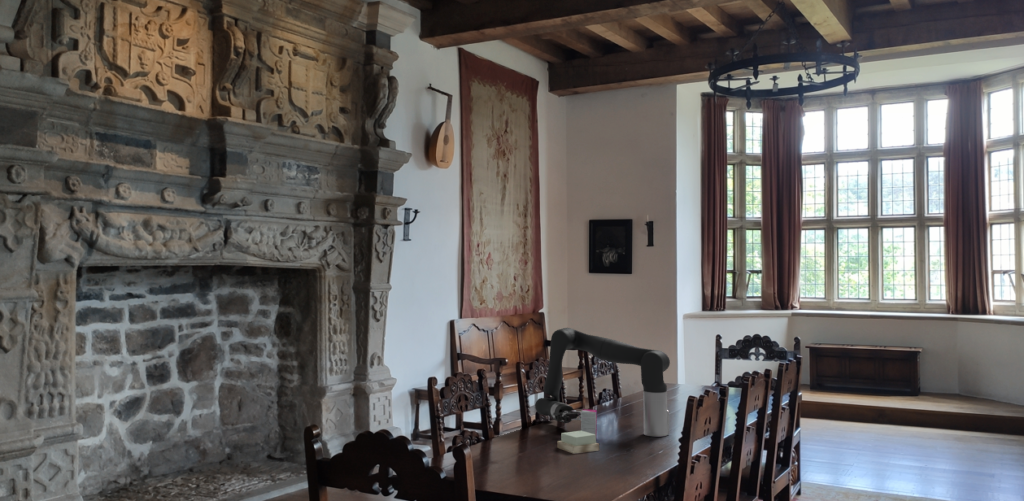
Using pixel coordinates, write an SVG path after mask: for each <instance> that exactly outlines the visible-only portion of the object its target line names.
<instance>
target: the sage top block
mask: <svg viewBox="0 0 1024 501" xmlns="http://www.w3.org/2000/svg"><path fill="white" fill-rule="evenodd" d="M560 436H561V437H560V438H561V440H560V441H562V442H565V443H568V444H572V445H575V446H579V445H586V444H593V443H597V439H596V435H595V434H592V433H588V432H584V431H581V430H575V431H569V432H568V431H567V432H561V435H560Z"/></svg>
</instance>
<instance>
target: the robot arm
mask: <svg viewBox="0 0 1024 501" xmlns="http://www.w3.org/2000/svg"><path fill="white" fill-rule="evenodd" d="M549 346H550V348H549V359H548V366H547V367H548V368H547V372H546V373H547V374H546V376H545V381H544V384H543V392H544V394H546V395H548V396H551V398H548V397H540V398H538V399H537V400H536V401H535V404H534V408H535V411H536V412H537V414H539V415H541V416H545V417H546V416H547V417H551V418H552V420H553V421H557V422H561V423H563V424H569V423H571V422H572V421H581V411H580V410H575V409H574V407H573V406H572V405H569V404H567V403H564V402H560V392H561V388H562V387H561V386H562V384H563V382H562V381H563V379H564V378H563V377H564V376H563V374H564V373H563V358H564V356H565V353H566V352H567V350H570V349H571V350H574V349H575V350H579V351H585V352H587V353H589V354H591V355H592V356H594V357H595V358H597V359H598V360H600V361H601V360H602V361H605V362H609V363H613V364H614V363H615V364H620V365H621V364H625V365H635V366H638V367H640V375H641V376H640V378H641V384H642V388H643V390H642V391H643V394H642V395H643V398H642V399H643V435H645V436H647V437H659V438H660V437H666V436H668V435H670V411H669V410H668V386H667V383H665V381H664V372H666V371H667V369H669V367H670V364H671V363H670V357H669V356H668V355H667V353H665V352H664V351H663V350H658V349H650V348H644V347H643V348H642V347H638V346H635V345H633V344H632V345H631V344H629V343H627V342H623V341H620V340H616V339H612V338H607V337H604V336H599V335H591V334H587V333H584V332H582V331H579V330H577V329H575V328H571V327H563V328H559V329H557V330H555V331H554V332H552V335H551V338H550V345H549Z"/></svg>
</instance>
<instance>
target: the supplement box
mask: <svg viewBox="0 0 1024 501" xmlns="http://www.w3.org/2000/svg"><path fill="white" fill-rule="evenodd" d="M580 412H581V420H580V431H584V432H588V433H592V434H595V435H596V440H597V439H598V438H597V435H598V434H597V433H598V432H597V431H598V428H597V427H598V422H597V421H598V410H597V409H586V408H582V410H581V411H580Z"/></svg>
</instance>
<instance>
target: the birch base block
mask: <svg viewBox="0 0 1024 501" xmlns="http://www.w3.org/2000/svg"><path fill="white" fill-rule="evenodd" d="M556 447H557V449H558V450H559V449H560V450H563V451H564V452H568V453H570V454H573V455H575V454H582V453H583V454H584V453H590V452H597V451H599V452H600V443H598V442H596V443H593V444H586V445H579V446H575V445H572V444H568V443H565V442H562V441H561V440H557V446H556Z"/></svg>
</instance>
